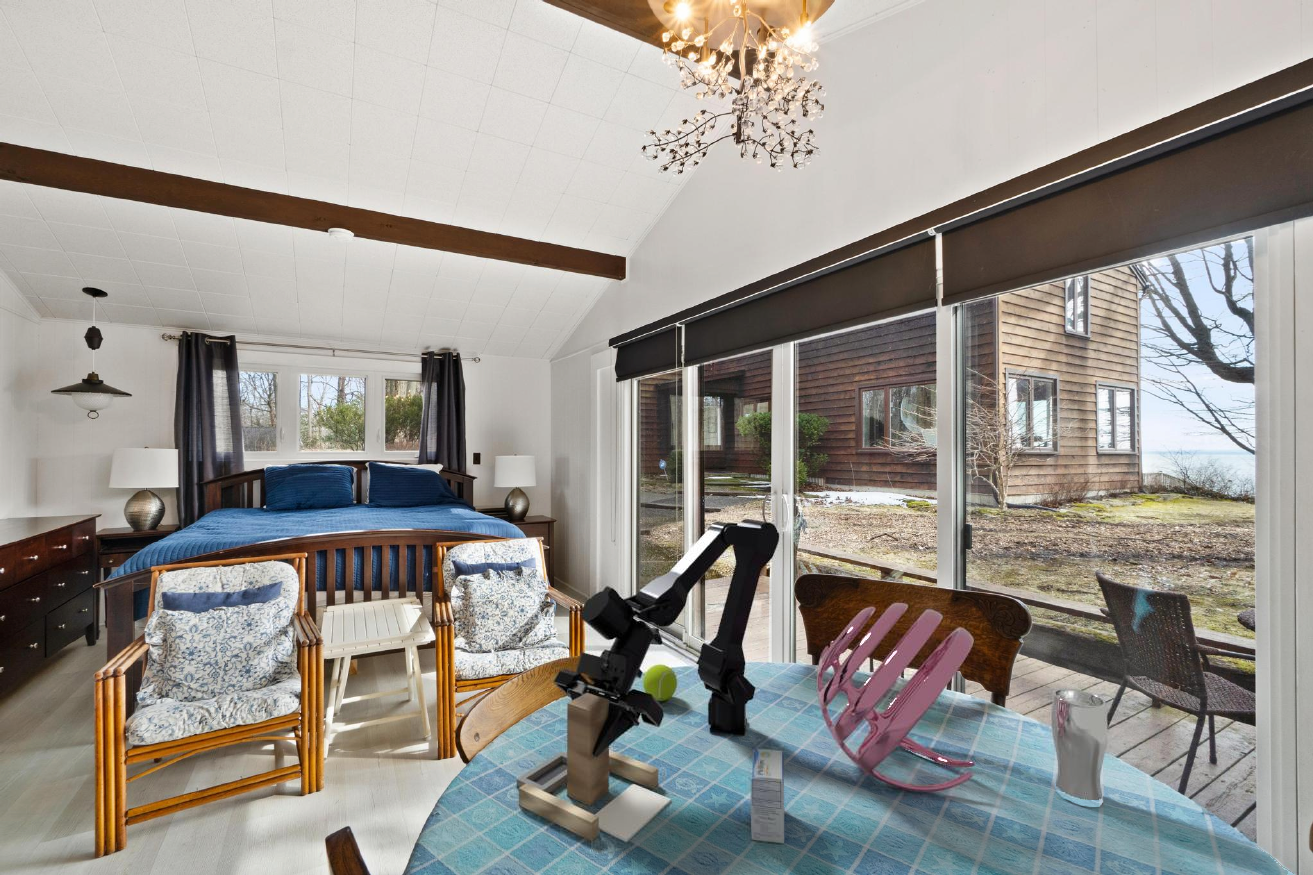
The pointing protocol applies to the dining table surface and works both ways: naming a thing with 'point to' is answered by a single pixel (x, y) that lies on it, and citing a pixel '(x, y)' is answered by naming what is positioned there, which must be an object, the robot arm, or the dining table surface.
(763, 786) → the medicine box
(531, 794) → the channel
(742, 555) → the robot arm
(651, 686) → the tennis ball
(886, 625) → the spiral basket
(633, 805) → the pad
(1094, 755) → the beer glass
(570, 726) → the walnut block
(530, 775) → the tray
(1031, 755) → the dining table surface
